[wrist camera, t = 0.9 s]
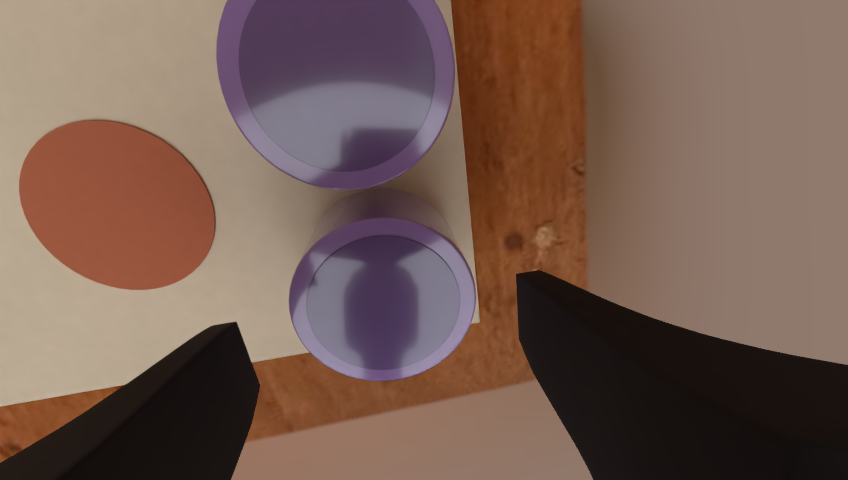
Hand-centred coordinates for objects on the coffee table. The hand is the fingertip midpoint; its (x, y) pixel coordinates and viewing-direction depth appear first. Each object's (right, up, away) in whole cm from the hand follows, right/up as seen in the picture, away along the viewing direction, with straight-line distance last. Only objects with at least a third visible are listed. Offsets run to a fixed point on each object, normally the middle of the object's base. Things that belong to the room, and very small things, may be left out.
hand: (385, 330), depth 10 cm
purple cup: (-1, +8, +3) cm, 8 cm away
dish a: (-1, +2, +5) cm, 5 cm away
